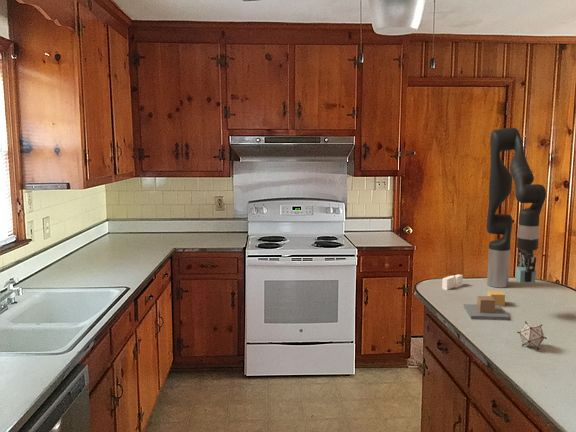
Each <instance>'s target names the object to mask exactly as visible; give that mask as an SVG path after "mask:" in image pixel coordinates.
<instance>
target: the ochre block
mask: <svg viewBox="0 0 576 432" xmlns="http://www.w3.org/2000/svg"><path fill="white" fill-rule="evenodd" d="M487 296H492V297H493V298H494V299H495V305H500V307H505V303H506V302H505V301H506V294H505V293H504V292H503V290H487Z"/></svg>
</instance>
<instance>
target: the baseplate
mask: <svg viewBox="0 0 576 432" xmlns="http://www.w3.org/2000/svg"><path fill="white" fill-rule="evenodd" d="M476 298H477V299H476V303H473V304H472V303H471V304H470V303H469V304H467V303H463V308H464V310H465V311H466V313H467V314H468V317H469V318H470V319H471V320H492V321H493V320H497V321H500V320H501V321H510V316H509V315H508V313H507V312H506V311H505V310H504V309H503V308H502V306H500V305H495V299H494V298H493V297H492V296H488V295H477V296H476Z"/></svg>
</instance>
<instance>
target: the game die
mask: <svg viewBox="0 0 576 432" xmlns="http://www.w3.org/2000/svg"><path fill="white" fill-rule="evenodd" d="M524 323H525V324H524V326H523V327H522V328H521V329H520V331H517V332H516V333H517V334H519V336H520V339H521V342H522V344H521V347H524V346H528V347H534V348H536V349H537V350H538V351H539V350H540V348H539V346H541V344H542V342H543V341H544V340H548V338H547V337H546V336H545V335H544V332H543V329H542V327H543V323H541V324H540V325H538V324H531V323H528V322H527V321H526V320H525V321H524Z"/></svg>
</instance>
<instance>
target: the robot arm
mask: <svg viewBox="0 0 576 432" xmlns="http://www.w3.org/2000/svg"><path fill="white" fill-rule="evenodd" d="M489 138H490V139H489V147H490V148H489V149H490V166H489V167H490V170H489V181H488V185H489V186H488V206H487V207H488V208H487V215H486V217H487V218H486V224H485V225H486V231H487V233H488V234H491V235H503V236H502V237H500V238H498V239H495V240H491V241H490V242H489V243H488V253H487V254H488V257H487V274H486V275H487V276H486V277H487V278H486V284H487V286H490V287H494V288H507V287H509V278H510V277H509V276H510V264H511V261H510V258H511V243H512V242H511V240H512V231H513V216H512V215H511V214H504V213H503V214H502V213H497V210H498V209H499V207H500V206H501V205H502V204H503V203H504V202H505V200H506V199H508V197H509V196H510V195H511V192H512V189H513V187H512V186H513V181H514V190H515V191H514V194H515V195H514V196H515V199H516V201H517V202H519V203H520V204H530V206H529V207H528V208H523V209H520V211H519V214H518V226H517V227H518V228H517V234H516V248H517V264H518V265H519V266H518V267H525V281H526V282H531V276H532V272H534V271H535V270H536V264H537V263H536V261H537V257H535V256H534V255H535V254H534V251H537V250H538V249H539V240H540V215H541V211H542V209H543V206H544V204H545V201H546V198H547V189H546V188H545V186H544V185H542V184H535V183H534V184H533V182H534V180H535V177H534V174H533V172H532V170H531V168H530V165H529V163H528V160H527V157H526V152H525V148H524V144H523V140H522V137H521V134H520V132H519V130H518V129H517V128H515V127H506V128H499V129H494V130H492V131H491V133H490V137H489ZM506 151H507V152H508V151H514V155H513V158H512V159H511V162H510V163H509V164H510V165H509V168H508V167H507V166H506V165H505V164H504V162H503V161H502V158H501V153H502V152H506ZM529 268H530V269H529Z"/></svg>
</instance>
